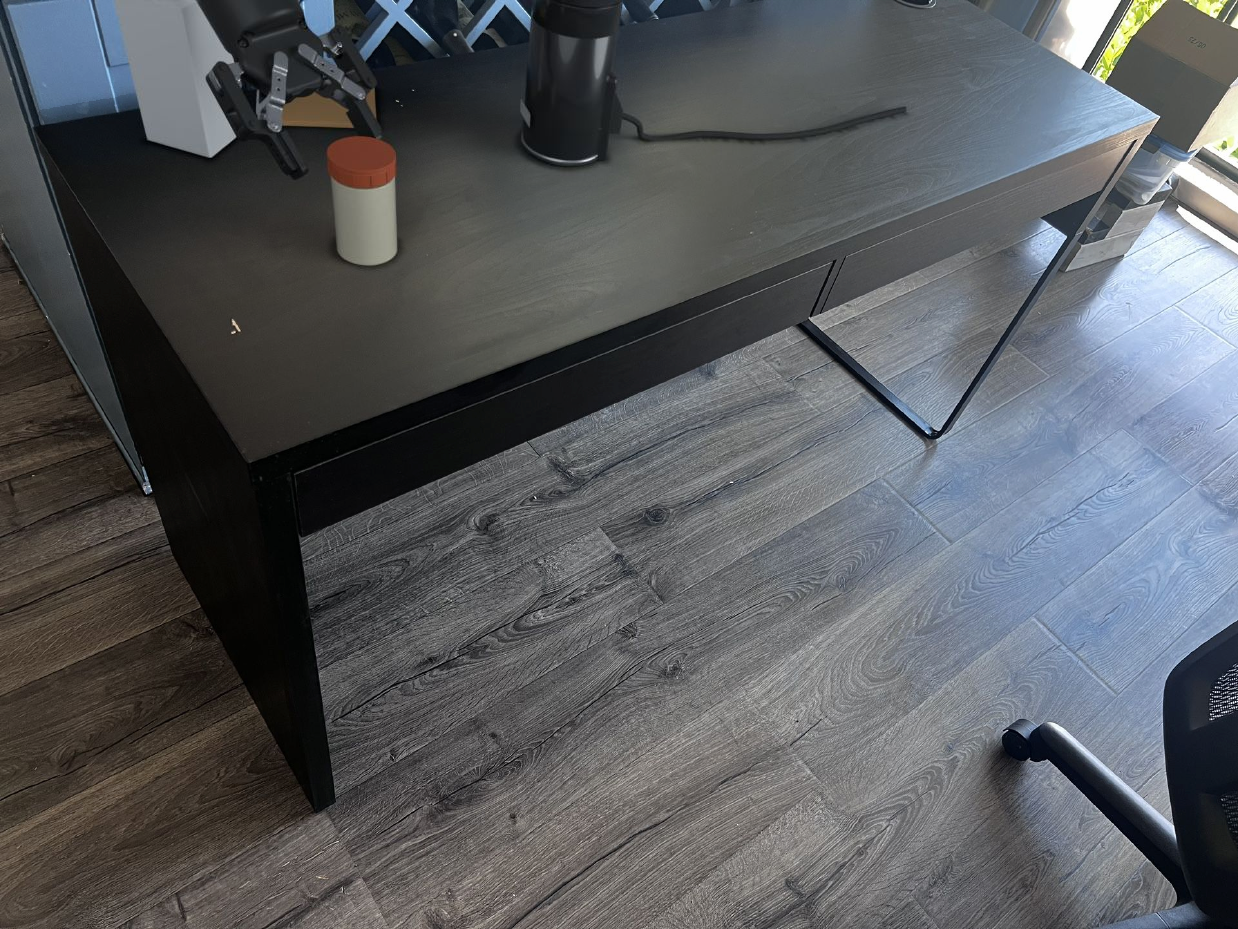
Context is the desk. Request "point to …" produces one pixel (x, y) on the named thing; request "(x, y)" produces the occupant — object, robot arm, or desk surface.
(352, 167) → the lid
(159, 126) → the milk carton
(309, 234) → the desk surface
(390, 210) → the jar
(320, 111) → the mat
